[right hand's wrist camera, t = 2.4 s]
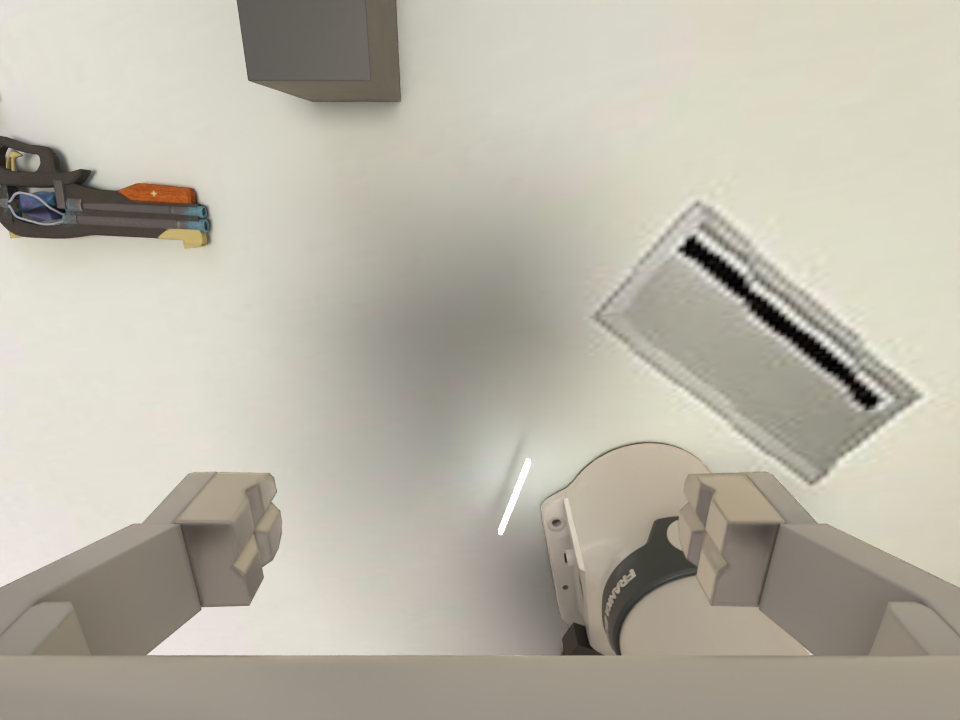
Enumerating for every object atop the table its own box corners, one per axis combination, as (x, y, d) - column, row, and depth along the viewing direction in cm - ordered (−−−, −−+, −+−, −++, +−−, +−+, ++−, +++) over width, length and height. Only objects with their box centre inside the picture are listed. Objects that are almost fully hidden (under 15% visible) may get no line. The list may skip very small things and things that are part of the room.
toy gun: (-116, 79, 34) (-82, 236, 37) (189, 101, 36) (200, 250, 38) (-76, 89, 37) (-48, 235, 39) (205, 109, 38) (215, 248, 41)
